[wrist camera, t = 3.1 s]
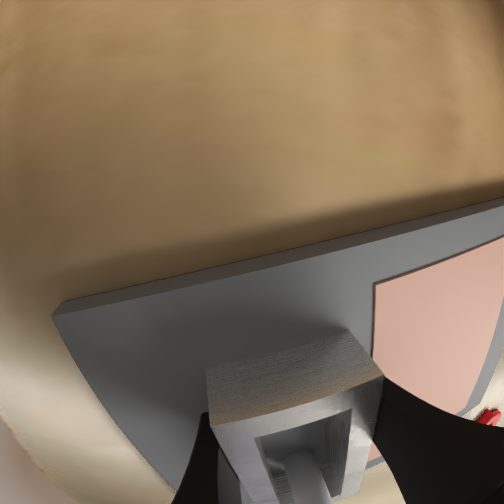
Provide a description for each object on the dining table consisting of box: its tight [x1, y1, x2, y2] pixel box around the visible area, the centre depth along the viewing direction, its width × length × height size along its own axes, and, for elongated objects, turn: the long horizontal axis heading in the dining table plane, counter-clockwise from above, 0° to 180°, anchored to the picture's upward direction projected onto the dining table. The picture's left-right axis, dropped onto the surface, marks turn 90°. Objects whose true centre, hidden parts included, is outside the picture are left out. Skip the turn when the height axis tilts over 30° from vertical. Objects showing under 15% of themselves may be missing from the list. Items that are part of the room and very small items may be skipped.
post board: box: [51, 197, 504, 504], centre depth 10 cm, size 22×16×5 cm
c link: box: [206, 330, 384, 504], centre depth 10 cm, size 5×10×2 cm, turn 10°
